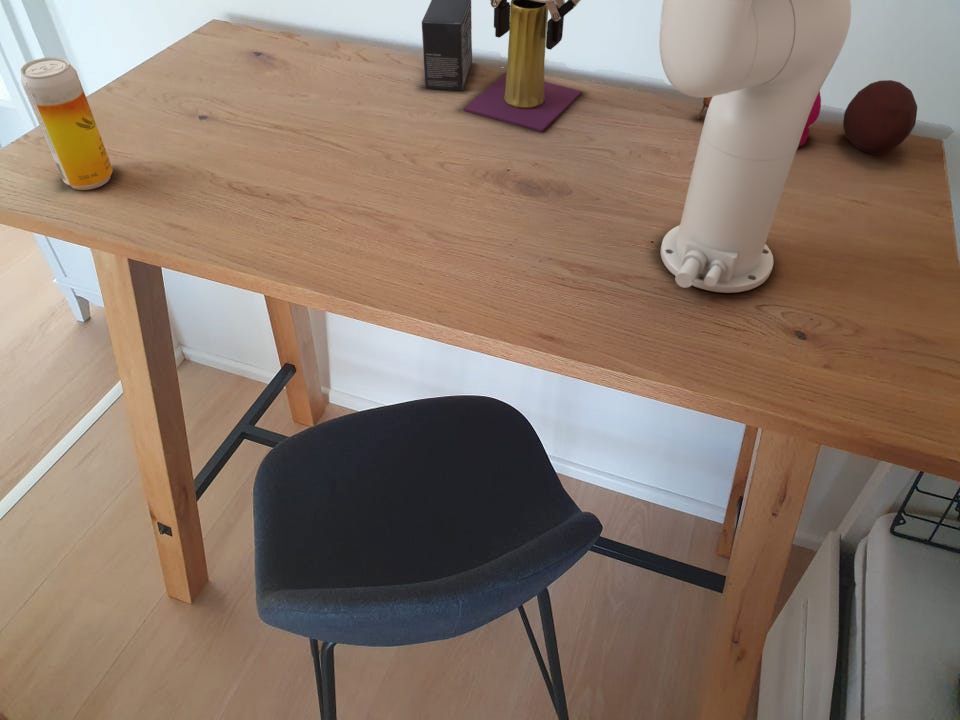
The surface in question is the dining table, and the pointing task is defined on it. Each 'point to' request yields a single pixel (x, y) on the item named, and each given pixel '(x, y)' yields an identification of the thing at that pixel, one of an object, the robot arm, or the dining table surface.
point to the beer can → (66, 122)
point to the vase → (526, 54)
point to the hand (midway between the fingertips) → (527, 39)
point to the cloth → (531, 118)
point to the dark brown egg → (880, 116)
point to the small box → (447, 44)
